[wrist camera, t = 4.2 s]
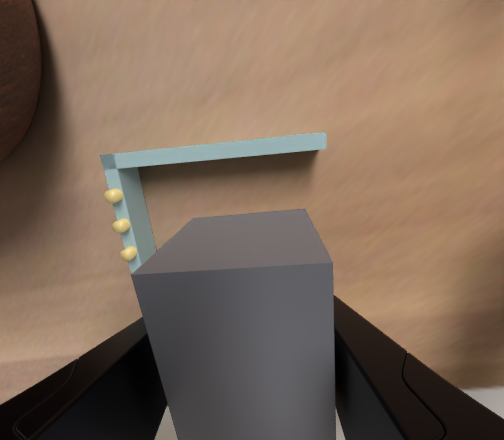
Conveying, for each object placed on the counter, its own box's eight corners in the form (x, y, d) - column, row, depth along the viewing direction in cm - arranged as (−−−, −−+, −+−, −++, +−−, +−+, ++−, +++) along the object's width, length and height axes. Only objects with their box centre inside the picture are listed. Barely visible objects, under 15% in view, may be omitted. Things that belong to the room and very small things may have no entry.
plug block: (305, 208, 8) (332, 262, 4) (312, 348, 10) (336, 474, 6) (185, 219, 9) (116, 275, 5) (211, 350, 10) (176, 468, 7)
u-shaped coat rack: (319, 133, 17) (328, 131, 14) (320, 262, 20) (329, 283, 17) (122, 153, 19) (92, 155, 16) (149, 268, 22) (129, 289, 19)
